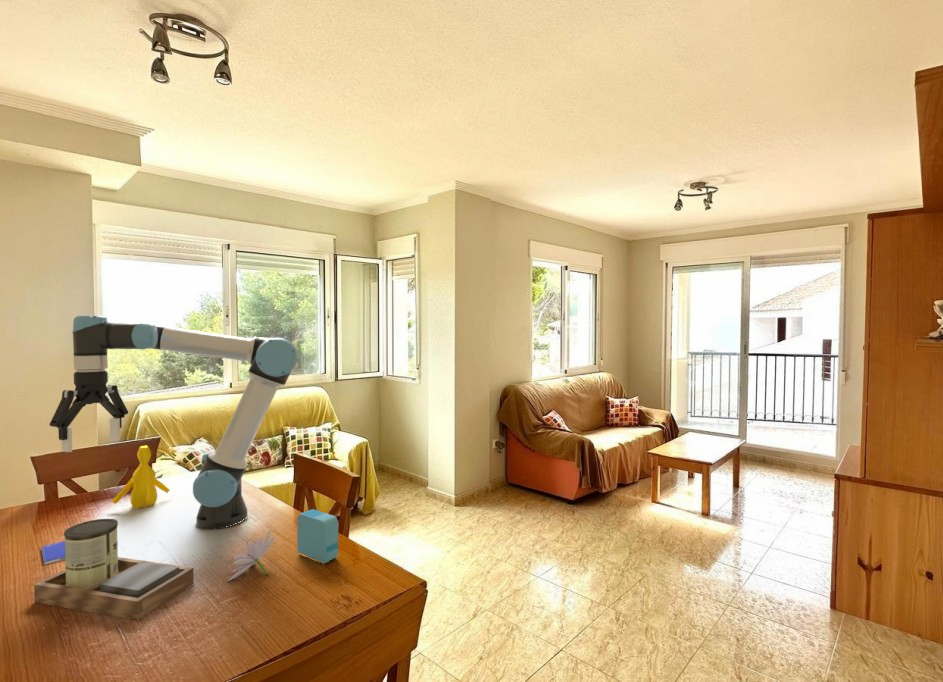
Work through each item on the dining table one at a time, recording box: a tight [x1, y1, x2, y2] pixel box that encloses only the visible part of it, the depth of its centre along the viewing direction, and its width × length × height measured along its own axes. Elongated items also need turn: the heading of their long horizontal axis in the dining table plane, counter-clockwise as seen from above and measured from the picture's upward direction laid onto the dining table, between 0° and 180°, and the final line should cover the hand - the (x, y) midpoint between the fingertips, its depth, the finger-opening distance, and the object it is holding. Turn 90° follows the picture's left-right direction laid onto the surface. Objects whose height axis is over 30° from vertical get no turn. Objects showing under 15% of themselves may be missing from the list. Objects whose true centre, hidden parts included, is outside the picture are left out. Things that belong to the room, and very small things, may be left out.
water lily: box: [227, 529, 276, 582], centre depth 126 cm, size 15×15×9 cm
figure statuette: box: [111, 445, 171, 510], centre depth 173 cm, size 18×8×22 cm, turn 137°
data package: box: [296, 508, 339, 564], centre depth 135 cm, size 12×4×12 cm, turn 57°
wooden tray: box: [33, 556, 195, 621], centre depth 116 cm, size 30×16×5 cm, turn 76°
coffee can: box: [63, 518, 119, 590], centre depth 118 cm, size 10×10×14 cm
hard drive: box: [41, 540, 65, 565], centre depth 137 cm, size 2×8×12 cm
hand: (92, 445), depth 136 cm, fingers open, 13 cm apart
